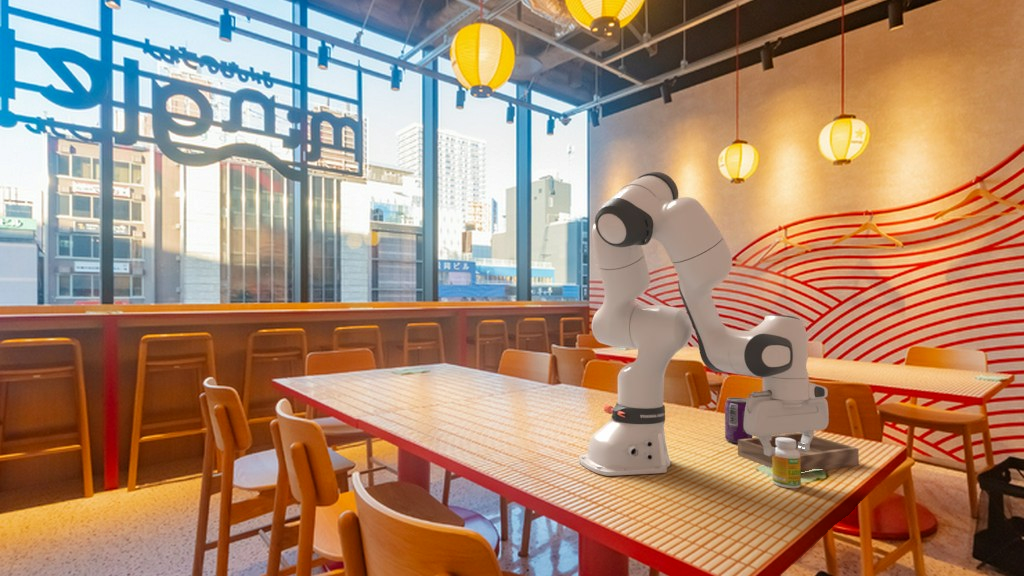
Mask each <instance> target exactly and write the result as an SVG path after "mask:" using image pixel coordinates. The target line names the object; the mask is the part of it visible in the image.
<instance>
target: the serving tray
mask: <svg viewBox="0 0 1024 576" xmlns="http://www.w3.org/2000/svg"><path fill="white" fill-rule="evenodd" d="M802 435H803V434H802V433H801V432H798V433H789V434H780V435H771V439H772V440H769V441H770V443H771V446H772V447H774V448H776V447H777V446H776V443H775V442H776V438H778V437H784V438H791V439H794V440H796V448H795V450H797V451H799V450H798V442H801V438H802ZM799 453H800V465H801V472H805V471H809V470H812V469H823V470H822V471H827V470H834V469H841V468H847V467H854V466H859V465H860V463H859V461H860V458H859V447H858V448H857V447H855V446H851V445H849V444H848V445H847V444H844V443H840V442H837V441H833V440H829V439H825V438H821V437H818V436H815V435H814V436H813V438H812V440H811V442H810V450H809V451H806V452H802V451H799ZM737 455H738V456H739V457H742V458H744V459H747V460H750V461H752V462H755V463H758V464H760V465H764V466H766V467H768V466H769V468H771V467H772V468H771V469H773V466H772V456H767V455H765V454H764V446H763V445H762V443H761V442H760V440H759V437H752V438H748V439H739V440H738V444H737Z"/></svg>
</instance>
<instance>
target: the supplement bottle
mask: <svg viewBox="0 0 1024 576" xmlns="http://www.w3.org/2000/svg"><path fill="white" fill-rule="evenodd" d="M775 443H776V446H777V447H776V448H775V453H776V455H774V456H772V466H773V468H772V482H773V484H774V485H776V486H777V487H782V488H785V489H799V488H800V487H801V486H802V485H801V484H802V481H801V479H802V477H801V475H802V474H801V465H800V453H799V451H797V450H795V448H796V440H794V439H791V438H784V437H778V438H776V442H775Z"/></svg>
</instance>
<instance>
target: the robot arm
mask: <svg viewBox="0 0 1024 576" xmlns="http://www.w3.org/2000/svg"><path fill="white" fill-rule="evenodd" d="M595 214H596V215H595V217H594V218H595V219H594V223H593V226H592V229H591V236H592V237H591V238H592V245H593V247H592V248H593V252H594V256H595V261H596V264H597V267H598V271H599V274H600V279H601V282H602V286H603V292H604V299H603V301H602V302H603V303H602V304H601V307H599V308H598V309H597V311H596V312H594V315H593V317H592V320H591V331H592V336H593V337H594V338H595V340H596V341H597V342H598V343H600V344H603V345H606V346H609V347H613V348H619V349H637V356H636V359H635V360H634V361H633V362H630V363H628V364H627V365H625V366H623V367H622V368H621V369H620V371H619V372H618V375H617V402H616V404H615V406H614V407H613V406H611V405H609V404H605V405H604V407H603V411H604V412H605V413H606V414H608V415H611V419H609V420H608V421H607V422H606V423H605V424H604V425H603V426H601V427H600V428H599V429H598V430H597V431H596V432H595V433H593V434H592V435H591V436H590V439H589V442H588V448H587V453H583V454H580V455H579V456H578V462H579V463H580V465H582V466H583V467H584V468H586V469H587V470H588V471H591V472H593V473H596V474H598V475H602V476H606V477H607V476H608V477H611V476H612V477H613V476H627V475H628V476H630V475H634V476H635V475H649V474H666V473H667V472H668V468H669V467H670V466H671V464H672V463H671V460H670V456H669V451H668V449H667V441H666V435H665V422H666V407H665V405H664V384H665V383H664V382H665V376H666V375H665V374H666V370H667V368H668V365H669V363H670V362H671V360H672V358H674V356H675V354H677V353H678V352H679V351H680V350H682V349H683V348H685V347H686V345H688V343H689V341H690V340H691V338H692V335H693V330H694V333H695V335H696V339H697V343H698V349H699V355H700V358H701V360H702V362H703V364H704V365H705V366H706V367H707V368H708V369H709V370H710V371H712V372H715V373H724V374H725V373H727V374H736V375H741V376H748V377H754V378H762V390H761V391H760V390H759V391H752V392H751V393H750V394H749V395H748V396H747V397H746V398H745V399H746V407H745V413H744V430H745V431H746V433H747V434H749V435H752V437H754V438H757V437H759V440H760V442H761V443H762V445H763V446H764V454H765V455H767V456H774V455H776V453H775V448H774V447H772V446H771V443H770V441H769V440H772V439H771V436H774V435H783V434H791V433H800V432H801V433H802V434H803V435H802V438H801V442H798V450H799V451H802V452H806V451H809V450H810V442H811V440H812V438H813V436H815V432H814V431H823V430H825V429H827V427H828V425H829V420H830V419H829V405H828V403H829V402H828V400H827V399H826V398H827V397H828V394H829V393H828V392H829V391H828V388H827V387H825V386H822V385H819V384H816V383H813V382H810V379H809V378H810V376H809V372H808V369H807V362H808V358H809V347H808V346H809V345H808V342H809V341H808V336H807V335H808V334H807V330H806V326H805V324H804V321H803V320H802V319H800V318H799V317H797V316H792V315H783V314H768V315H765V316H764V320H763V321H761V323H759V324H758V325H756V326H755V327H753V328H750V329H749V330H739V329H731V328H730V327H728V326H726V325H725V324H724V323H723V322H722V320H721V318H720V315H719V312H718V310H717V308H716V305H715V302H714V300H713V297H712V290H713V289H715V288H717V287H718V286H719V285H720V284H722V283H723V282H724V281H725V280H726V279H727V277H728V276H729V274H730V272H731V269H732V267H733V258H732V257H733V256H732V253H731V250H730V248H729V245H728V244H727V242H726V240H725V238H724V236H723V234H722V233H721V230H719V228H718V226H717V224H716V222H715V221H714V220H713V218H712V217H711V216H710V214H709V213H708V211H707V210H706V209H705V207H704V206H703V205H702V204H701V203H700V202H699V201H698V200H697V199H696V198H694V197H689V196H687V197H686V196H685V197H679V189H678V186H677V184H676V182H675V180H673V179H672V178H671V176H669V175H668V174H666V173H663V172H659V171H652V172H648V173H645V174H642V175H640V176H639V177H637V178H636V179H634V180H632V181H631V182H629V183H627V184H626V185H624V186H623V187H621V188H620V189H619V191H617V192H616V193H615V194H614V195H613V196H612V197H610V199H607V200H606V201H605V202H603V204H602V205H601V206H600V207H599V209H598V210H597V212H596V213H595ZM651 239H654V240H656V241H658V242H659V243H660V244H661V245H662V246H663V247H662V248H664V250H665V251H666V254H667V256H668V258H669V260H670V261H671V264H672V265H673V267H674V270H675V272H676V275H677V278H678V283H677V287H678V292H679V295H680V298H681V300H682V303H683V305H684V308H685V309H683V308H678V307H674V306H669V305H664V304H663V305H660V304H658V305H655V304H654V305H652V304H650V305H649V304H647V305H646V304H645V305H641V304H639V303H637V302H636V299H638V298H639V297H641V296H642V295H643V294H645V292H646V291H647V290H648V288H649V286H650V283H651V275H650V272H649V268H648V265H647V261H646V258H645V253H644V250H643V246H646V245H648V244H649V243H650V242H651Z"/></svg>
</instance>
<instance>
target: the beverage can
mask: <svg viewBox="0 0 1024 576" xmlns="http://www.w3.org/2000/svg"><path fill="white" fill-rule="evenodd" d="M746 399H747V398H743V397H727V398H726V402H725V404H724V423H725V424H724V438H725V439H726V440H728V441H729V442H730V443H733V444H737V445H738V440H739V439H748V438H753V436H752V435H749V434H747V433H746V431H745V430H744V413H745V407H746Z"/></svg>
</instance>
